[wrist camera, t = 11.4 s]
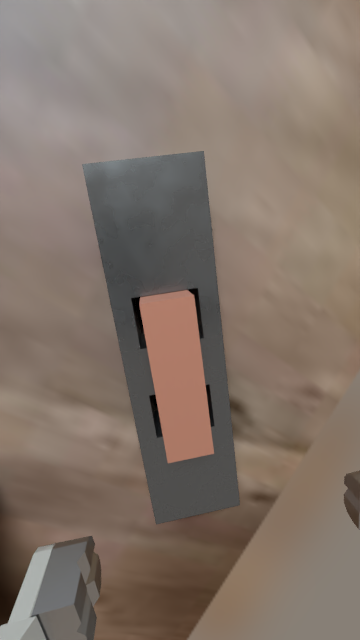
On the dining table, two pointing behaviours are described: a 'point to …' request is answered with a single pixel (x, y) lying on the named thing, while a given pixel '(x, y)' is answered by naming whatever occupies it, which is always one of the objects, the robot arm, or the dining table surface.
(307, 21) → the dining table surface
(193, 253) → the rail
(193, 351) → the pink notched block
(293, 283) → the dining table surface
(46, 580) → the robot arm
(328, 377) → the dining table surface
